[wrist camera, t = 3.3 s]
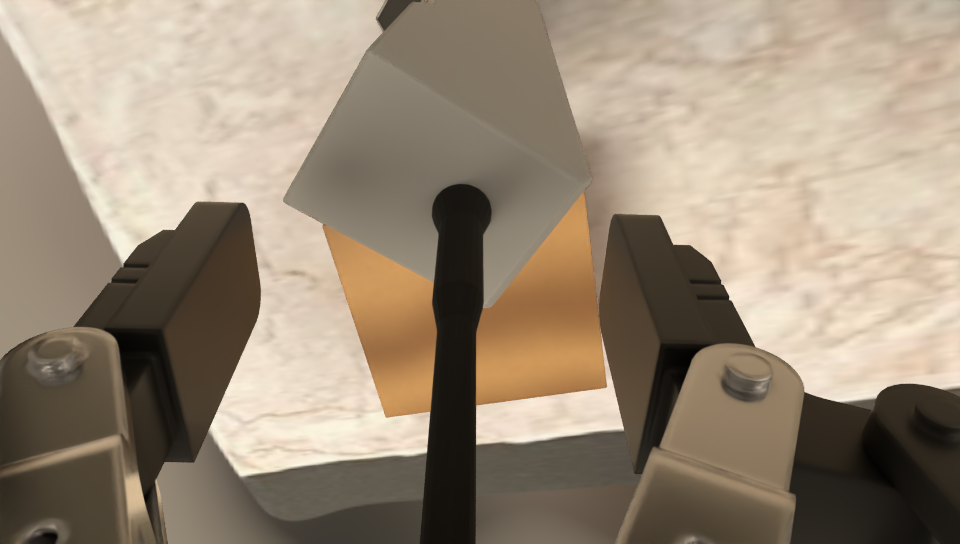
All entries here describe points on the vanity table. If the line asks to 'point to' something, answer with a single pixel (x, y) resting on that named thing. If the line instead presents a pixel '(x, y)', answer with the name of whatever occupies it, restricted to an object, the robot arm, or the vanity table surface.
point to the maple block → (481, 323)
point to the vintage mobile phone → (450, 189)
